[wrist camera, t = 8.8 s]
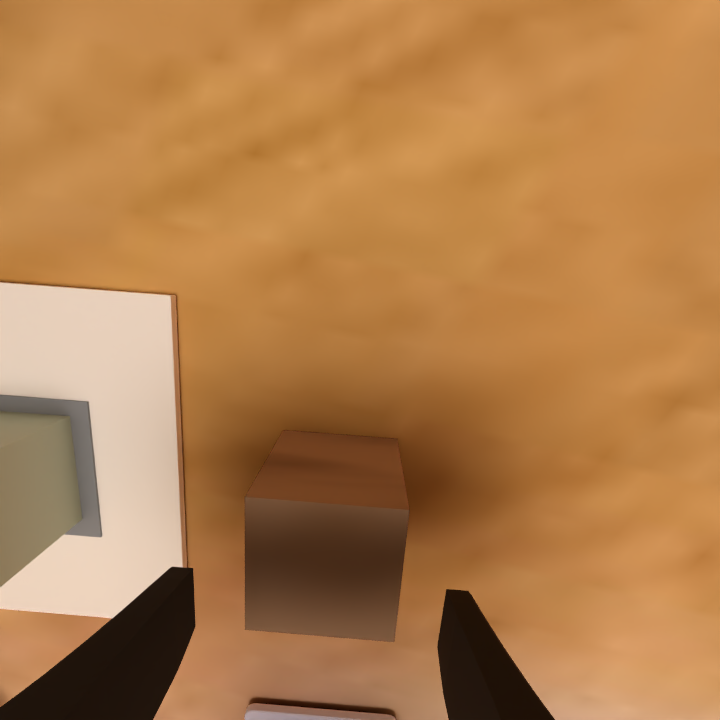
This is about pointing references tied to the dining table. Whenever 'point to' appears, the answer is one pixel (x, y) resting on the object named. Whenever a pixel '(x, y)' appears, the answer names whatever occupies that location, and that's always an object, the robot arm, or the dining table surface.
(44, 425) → the sage block
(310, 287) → the dining table surface
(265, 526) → the walnut block
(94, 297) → the white flat board
